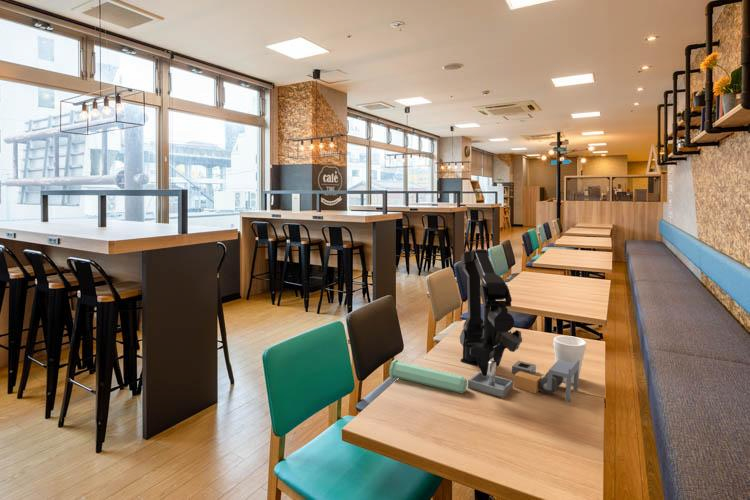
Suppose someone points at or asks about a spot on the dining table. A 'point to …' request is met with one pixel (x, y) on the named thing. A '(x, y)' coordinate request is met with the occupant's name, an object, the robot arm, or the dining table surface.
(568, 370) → the grey wheeled cart
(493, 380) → the pin
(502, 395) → the tray
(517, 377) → the block
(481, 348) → the robot arm
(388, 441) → the dining table surface
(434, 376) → the container
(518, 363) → the pin bracket
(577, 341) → the foam cup
